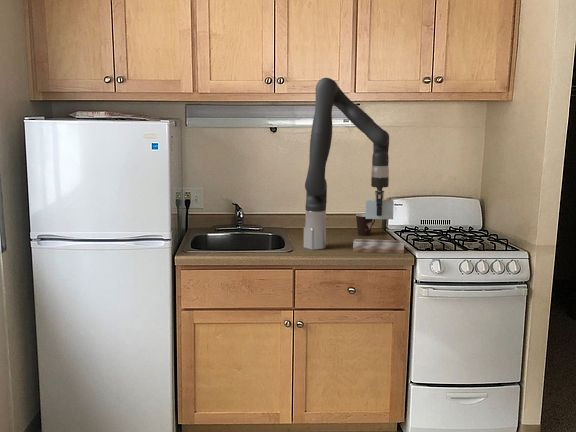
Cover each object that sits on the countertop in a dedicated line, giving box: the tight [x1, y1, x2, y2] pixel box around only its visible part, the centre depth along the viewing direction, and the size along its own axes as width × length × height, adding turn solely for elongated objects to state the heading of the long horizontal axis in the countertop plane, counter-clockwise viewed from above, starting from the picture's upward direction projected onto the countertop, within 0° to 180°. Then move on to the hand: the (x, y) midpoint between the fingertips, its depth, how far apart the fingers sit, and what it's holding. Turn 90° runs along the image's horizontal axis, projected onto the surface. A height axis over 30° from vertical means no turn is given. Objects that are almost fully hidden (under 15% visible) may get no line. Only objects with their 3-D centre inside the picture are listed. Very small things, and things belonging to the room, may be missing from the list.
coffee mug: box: [355, 213, 376, 237], centre depth 290 cm, size 12×9×10 cm
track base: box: [352, 238, 405, 254], centre depth 255 cm, size 22×9×4 cm, turn 80°
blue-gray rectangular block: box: [365, 199, 395, 220], centre depth 253 cm, size 12×4×8 cm, turn 80°
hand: (379, 214), depth 253 cm, fingers closed on blue-gray rectangular block, 3 cm apart
